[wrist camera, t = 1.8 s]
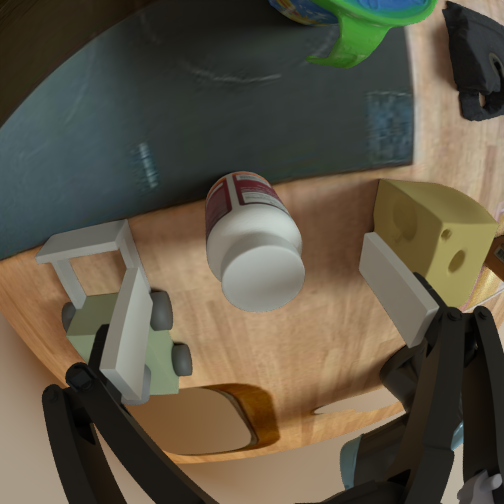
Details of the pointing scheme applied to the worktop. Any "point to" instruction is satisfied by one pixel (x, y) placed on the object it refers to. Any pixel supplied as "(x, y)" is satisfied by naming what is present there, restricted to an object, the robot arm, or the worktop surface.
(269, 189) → the pill bottle
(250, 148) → the worktop surface
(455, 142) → the worktop surface
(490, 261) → the pancake mix bag
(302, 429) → the worktop surface
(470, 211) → the cheese
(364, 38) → the snack cup
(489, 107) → the dark slate chunk
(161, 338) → the toy lawn mower
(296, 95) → the worktop surface
